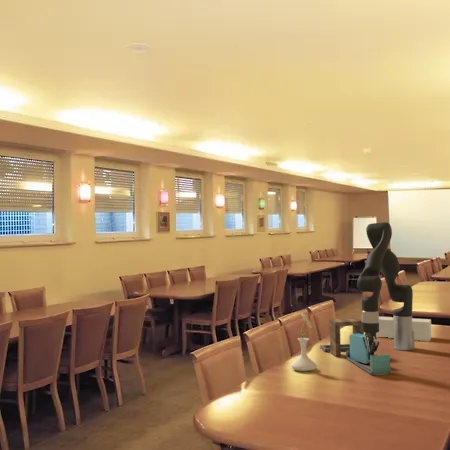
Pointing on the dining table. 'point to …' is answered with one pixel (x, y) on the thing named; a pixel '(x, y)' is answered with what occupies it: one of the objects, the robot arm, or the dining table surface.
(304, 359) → the flower in vase
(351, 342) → the data package
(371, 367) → the frame
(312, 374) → the dining table surface
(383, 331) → the white long block
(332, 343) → the wooden arch
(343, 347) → the tray
